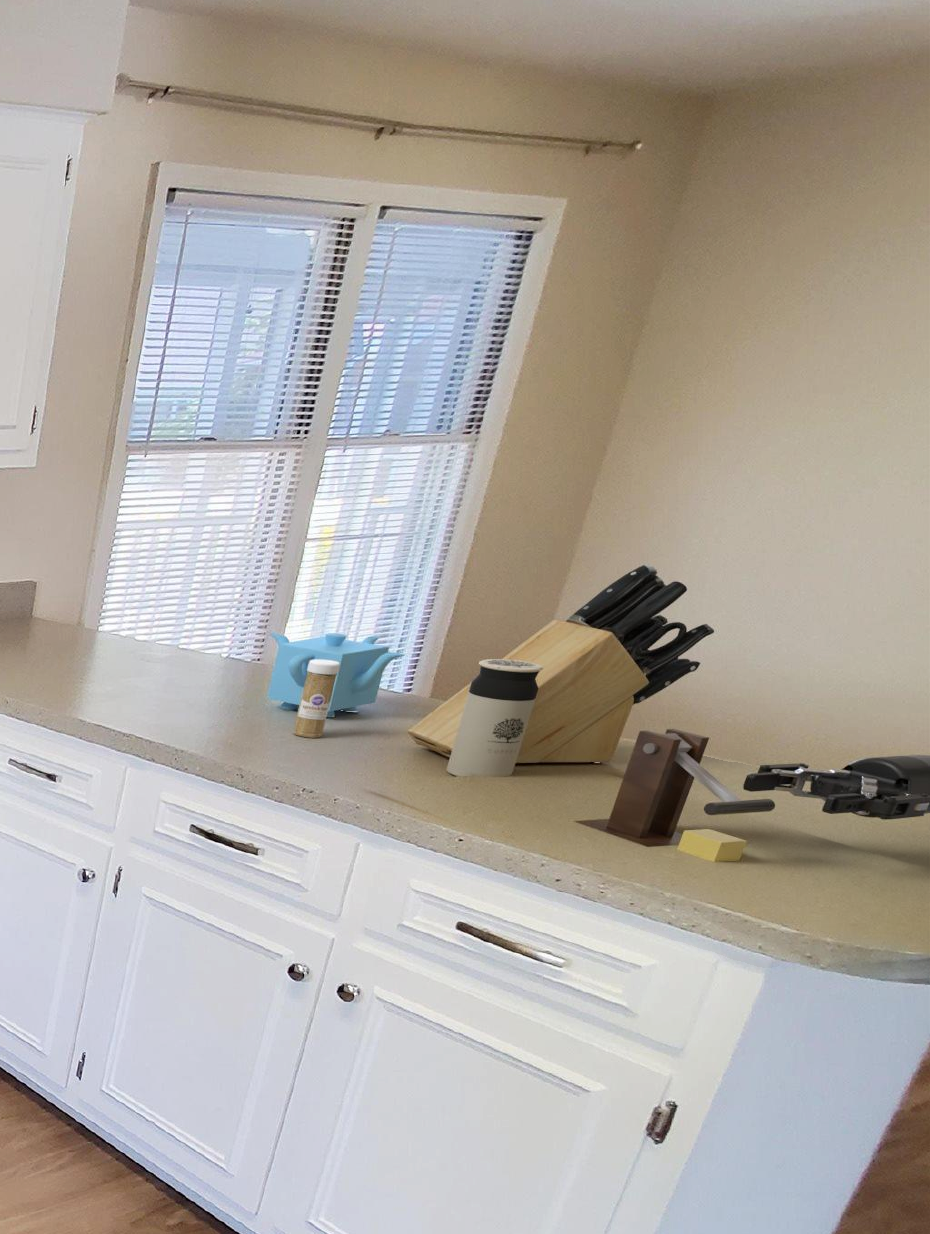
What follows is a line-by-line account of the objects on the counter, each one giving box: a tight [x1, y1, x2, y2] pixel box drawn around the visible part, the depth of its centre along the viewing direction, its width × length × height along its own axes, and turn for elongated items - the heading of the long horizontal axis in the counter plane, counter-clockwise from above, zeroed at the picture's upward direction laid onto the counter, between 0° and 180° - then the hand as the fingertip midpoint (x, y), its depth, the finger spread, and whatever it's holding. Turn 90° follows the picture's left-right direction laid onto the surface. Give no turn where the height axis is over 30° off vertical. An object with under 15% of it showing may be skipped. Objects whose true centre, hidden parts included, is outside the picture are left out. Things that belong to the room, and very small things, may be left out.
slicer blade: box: [661, 733, 776, 816], centre depth 142 cm, size 13×8×2 cm, turn 7°
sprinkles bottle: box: [292, 659, 340, 739], centre depth 197 cm, size 5×5×13 cm
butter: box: [677, 828, 748, 863], centre depth 141 cm, size 7×7×4 cm
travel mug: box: [446, 658, 543, 778], centre depth 173 cm, size 8×8×18 cm
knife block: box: [407, 563, 715, 764], centre depth 180 cm, size 11×35×31 cm, turn 88°
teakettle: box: [266, 632, 406, 717], centre depth 213 cm, size 19×19×15 cm
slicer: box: [573, 728, 710, 848], centre depth 147 cm, size 10×9×15 cm
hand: (787, 793), depth 137 cm, fingers open, 8 cm apart
